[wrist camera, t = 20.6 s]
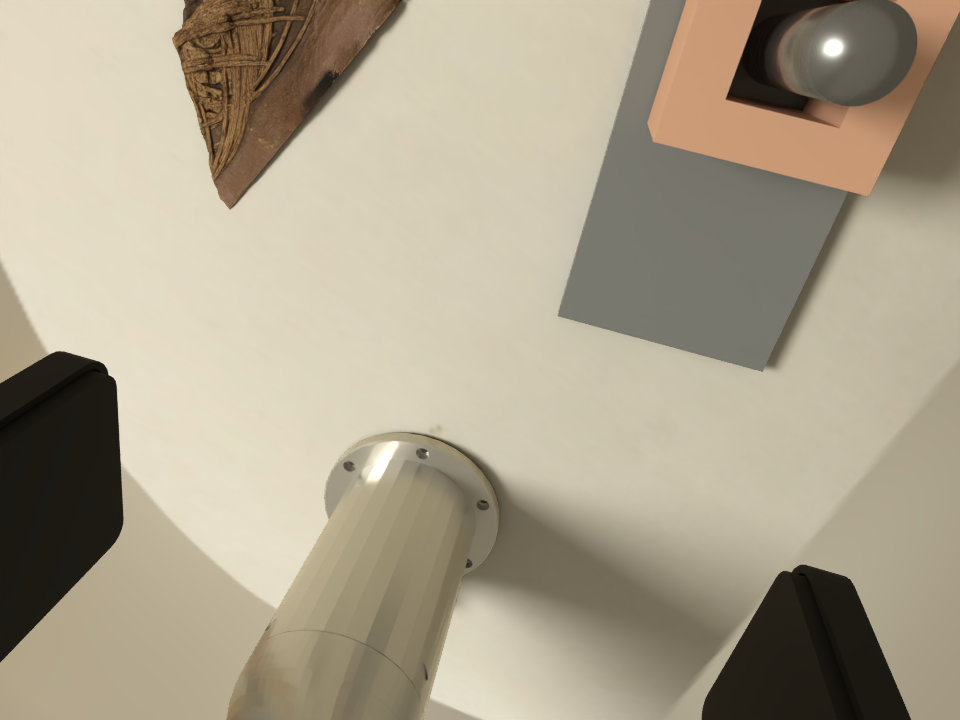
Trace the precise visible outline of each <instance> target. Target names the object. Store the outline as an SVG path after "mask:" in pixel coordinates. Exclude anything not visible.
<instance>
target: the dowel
mask: <svg viewBox="0 0 960 720" xmlns="http://www.w3.org/2000/svg"><path fill="white" fill-rule="evenodd" d="M916 51H917V31H916V27H915V24H914V22H913V20H912V18H911V17H910V15H909V14H908V12H907V11H906V10H905V9H904V8H902V7H901V6H900V5H898V4H896V3H894V2H892V1H889V0H858V1H853V2H847V3H841V4H836V5H830V6H825V7H819V8H813V9H808V10H802V11H796V12H791V13H785V14H780V15H775V16H771V17H769V18H767V19H765V20H763V21H761V22H760V23H759V24H758V25H756V26H755V27H754V28H753V30H752V31H751V32H750V34H749V36H748V39H747V42H746V45H745V47H744V50H743V54H742V59H743V65H744V68H745V70H746V72H747V74H748V75H749V76H750V77H751V78H752V79H753V80H754V81H756V82H758V83H760V84H763V85H766V86H770V87H774V88H778V89H781V90H785V91H789V92H793V93H796V94H800V95H804V96H808V97H811V98H815V99H819V100H823V101H827V102H830V103H834V104H838V105H842V106H861V105H866V104H869V103H872V102H875V101H877V100H879V99H881V98H883V97H884V96H886V95H887V94H889V93H890V92H891V91H893V90H894V89H895V88H896V87H897V86H898V85H899V84H900V83H901V82H902V80H903V79H904V78H905V76H906V75H907V73H908V72H909V70H910V68H911V66H912V64H913V61H914V59H915V55H916Z"/></svg>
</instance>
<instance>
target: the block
mask: <svg viewBox="0 0 960 720" xmlns="http://www.w3.org/2000/svg"><path fill="white" fill-rule="evenodd" d="M761 1H762V0H686V3H685V6H684V9H683V12H682V15H681V18H680V21H679V25H678V28H677V31H676V34H675V37H674V40H673V43H672V47H671V50H670V53H669V56H668V59H667V62H666V65H665V68H664V72H663V75H662V78H661V81H660V84H659V87H658V90H657V94H656V97H655V100H654V103H653V106H652V109H651V112H650V116H649V119H648V122H647V124H648V127H649V130H650V133H651V136H652V139H653V142H656V143H660V144H664V145H668V146H672V147H676V148H680V149H684V150H688V151H692V152H696V153H700V154H704V155H707V156H711V157H715V158H719V159H723V160H727V161H731V162H735V163H739V164H743V165H747V166H751V167H755V168H759V169H763V170H767V171H770V172H774V173H778V174H782V175H786V176H790V177H794V178H798V179H802V180H806V181H810V182H814V183H818V184H822V185H826V186H830V187H833V188H837V189H841V190H845V191H849V192H853V193H857V194H861V195H865V196H869V195H870V192H871V190H872V188H873V186H874V184H875V182H876V180H877V178H878V176H879V174H880V172H881V170H882V168H883V166H884V164H885V162H886V160H887V158H888V156H889V154H890V152H891V150H892V148H893V146H894V144H895V142H896V140H897V138H898V136H899V134H900V132H901V130H902V128H903V126H904V124H905V122H906V120H907V118H908V116H909V113H910V111H911V109H912V107H913V105H914V103H915V101H916V99H917V97H918V95H919V93H920V91H921V89H922V87H923V85H924V83H925V81H926V79H927V77H928V75H929V73H930V71H931V69H932V67H933V65H934V63H935V61H936V59H937V57H938V55H939V53H940V51H941V49H942V47H943V45H944V43H945V41H946V39H947V37H948V34H949V32H950V30H951V28H952V26H953V24H954V22H955V20H956V18H957V16H958V14H959V12H960V0H889V1H892V2H894V3H896V4H898V5H900V6H901V7H902V8H904V9H905V10H906V11H907V12H908V14H909V15H910V17H911V18H912V20H913V22H914V24H915V27H916V31H917V51H916V55H915V59H914V61H913V64H912V66H911V68H910V70H909V72H908V73H907V75H906V76H905V78H904V79H903V80H902V82H901V83H900V84H899V85H898V86H897V87H896V88H895V89H894V90H893V91H891V92H890V93H889V94H887V95H886V96H884V97H883V98H881V99H879V100H877V101H875V102H872V103H869V104H866V105H861V106H842V105H838V104H834V103H830V102H827V101H823V100H819V99H815V98H811V97H808V99H807V102H806V104H805V106H804V109H803V111H801V110H797V109H793V108H789V107H785V106H781V105H777V104H773V103H769V102H765V101H761V100H757V99H753V98H749V97H745V96H741V95H737V94H733V93H729V92H728V91H729V88H730V86H731V83H732V80H733V77H734V75H735V72H736V69H737V66H738V64H739V61H740V58H741V55H742V53H743V50H744V47H745V45H746V42H747V39H748V36H749V34H750V31H751V28H752V25H753V23H754V20H755V17H756V14H757V12H758V9H759V6H760V4H761ZM836 1H840V2H844V3H847V2H853V1H858V0H836Z"/></svg>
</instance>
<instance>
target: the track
mask: <svg viewBox="0 0 960 720" xmlns="http://www.w3.org/2000/svg"><path fill="white" fill-rule="evenodd" d="M685 3H686V0H651V1H650V4H649V8H648V11H647V15H646V18H645V21H644V25H643V28H642V31H641V35H640V38H639V42H638V45H637V48H636V52H635V55H634V58H633V62H632V65H631V69H630V72H629V75H628V79H627V82H626V85H625V89H624V92H623V96H622V99H621V102H620V106H619V109H618V112H617V116H616V119H615V123H614V126H613V129H612V133H611V136H610V139H609V143H608V146H607V150H606V153H605V156H604V160H603V163H602V166H601V170H600V173H599V177H598V180H597V183H596V187H595V190H594V193H593V197H592V200H591V204H590V207H589V210H588V214H587V217H586V220H585V224H584V227H583V231H582V234H581V237H580V241H579V244H578V247H577V251H576V254H575V258H574V261H573V264H572V268H571V271H570V274H569V278H568V281H567V285H566V288H565V291H564V295H563V298H562V301H561V305H560V308H559V313H558V316H559V317H563V318H567V319H571V320H574V321H578V322H582V323H585V324H589V325H593V326H596V327H600V328H604V329H607V330H611V331H615V332H618V333H622V334H626V335H629V336H633V337H637V338H640V339H644V340H648V341H651V342H655V343H659V344H662V345H666V346H670V347H674V348H677V349H681V350H685V351H688V352H692V353H696V354H699V355H703V356H707V357H710V358H714V359H718V360H721V361H725V362H729V363H732V364H736V365H740V366H743V367H747V368H751V369H754V370H758V371H762V372H763V370H764V368H765V365H766V363H767V361H768V359H769V357H770V355H771V353H772V351H773V349H774V347H775V345H776V342H777V340H778V338H779V336H780V334H781V332H782V330H783V328H784V326H785V324H786V322H787V319H788V317H789V315H790V313H791V311H792V309H793V307H794V305H795V303H796V301H797V299H798V296H799V294H800V292H801V290H802V288H803V286H804V284H805V282H806V280H807V278H808V275H809V273H810V271H811V269H812V267H813V265H814V263H815V261H816V259H817V257H818V255H819V252H820V250H821V248H822V246H823V244H824V242H825V240H826V238H827V236H828V234H829V232H830V229H831V227H832V225H833V223H834V221H835V219H836V217H837V215H838V213H839V211H840V208H841V206H842V204H843V202H844V200H845V198H846V196H847V194H848V192H849V191H845V190H841V189H837V188H833V187H830V186H826V185H822V184H818V183H814V182H810V181H806V180H802V179H798V178H794V177H790V176H786V175H782V174H778V173H774V172H770V171H767V170H763V169H759V168H755V167H751V166H747V165H743V164H739V163H735V162H731V161H727V160H723V159H719V158H715V157H711V156H707V155H704V154H700V153H696V152H692V151H688V150H684V149H680V148H676V147H672V146H668V145H664V144H660V143H656V142H653V139H652V136H651V133H650V130H649V127H648V124H647V122H648V119H649V116H650V112H651V109H652V106H653V103H654V100H655V97H656V94H657V90H658V87H659V84H660V81H661V78H662V75H663V72H664V68H665V65H666V62H667V59H668V56H669V53H670V50H671V47H672V43H673V40H674V37H675V34H676V31H677V28H678V25H679V21H680V18H681V15H682V12H683V9H684V6H685ZM841 3H844V2H840V1H836V0H762V1H761V4H760V6H759V9H758V12H757V14H756V17H755V20H754V23H753V25H752V28H751V31H752V30H753V28H754V27H755V26H756V25H758V24H759V23H760V22H761V21H763V20H765V19H767V18H769V17H771V16H775V15H780V14H785V13H791V12H796V11H802V10H808V9H813V8H819V7H825V6H830V5H836V4H841ZM751 31H750V32H751ZM742 54H743V53H742ZM728 92H729V93H733V94H737V95H741V96H745V97H749V98H753V99H757V100H761V101H765V102H769V103H773V104H777V105H781V106H785V107H789V108H793V109H797V110H801V111H803V109H804V106H805V104H806V102H807V99H808V96H804V95H800V94H796V93H793V92H789V91H785V90H781V89H778V88H774V87H770V86H766V85H763V84H760V83H758V82H756V81H754V80H753V79H752V78H751V77H750V76H749V75H748V74H747V72H746V70H745V68H744V65H743V59H742V55H741V58H740V61H739V64H738V66H737V69H736V72H735V75H734V77H733V80H732V83H731V86H730V88H729V91H728Z"/></svg>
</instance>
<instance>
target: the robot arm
mask: <svg viewBox="0 0 960 720" xmlns="http://www.w3.org/2000/svg"><path fill="white" fill-rule="evenodd" d="M324 499H325V509H326V513H327V516H328V519H329V520H328V522H327V524H326V526H325V527H324V529H323V531H322V533H321V534H320V536H319V538H318V540H317V541H316V543H315V545H314V547H313V548H312V550H311V552H310V553H309V555H308V557H307V559H306V560H305V562H304V564H303V566H302V567H301V569H300V571H299V573H298V574H297V576H296V578H295V580H294V581H293V583H292V585H291V586H290V588H289V590H288V592H287V593H286V595H285V597H284V599H283V600H282V602H281V604H280V606H279V607H278V609H277V611H276V613H275V614H274V616H273V618H272V620H271V622H270V623H269V625H268V626H267V628H266V630H265V632H264V633H263V635H262V637H261V639H260V640H259V642H258V644H257V646H256V647H255V649H254V651H253V653H252V655H251V656H250V658H249V660H248V661H247V663H246V665H245V667H244V668H243V670H242V672H241V674H240V676H239V678H238V680H237V682H236V684H235V688H234V691H233V693H232V696H231V699H230V703H229V708H228V715H227V720H423V719H424V716H425V712H426V709H427V705H428V701H429V698H430V694H431V691H432V687H433V683H434V680H435V676H436V672H437V669H438V665H439V661H440V658H441V654H442V651H443V647H444V643H445V640H446V636H447V632H448V629H449V625H450V621H451V618H452V614H453V610H454V607H455V603H456V600H457V596H458V592H459V589H460V585H461V581H462V578H463V575H465V574H467V573H469V572H471V571H473V570H474V569H475V568H476V567H478V566H479V565H480V564H481V563H483V561H484V560H485V559H486V557H487V556H488V555H489V554H490V552H491V550H492V548H493V546H494V543H495V541H496V537H497V533H498V529H499V517H500V512H499V507H498V501H497V498H496V495H495V493H494V491H493V488H492V486H491V484H490V483H489V481H488V480H487V478H486V477H485V475H484V474H483V472H482V471H481V470H480V469H479V468H478V467H477V466H476V465H475V464H474V463H473V462H472V461H471V460H470V459H469V458H467V457H466V456H465V455H463V454H462V453H461V452H459V451H458V450H456V449H455V448H453V447H451V446H449V445H447V444H445V443H443V442H441V441H438V440H435V439H432V438H429V437H426V436H422V435H416V434H410V433H387V434H382V435H376V436H372V437H370V438H367V439H365V440H362V441H360V442H358V443H357V444H355V445H354V446H352V447H351V448H349V449H348V450H347V451H346V452H345V453H344V454H343V455H342V456H341V457H340V458H339V459H338V461H337V463H336V464H335V466H334V467H333V469H332V470H331V472H330V475H329V477H328V480H327V482H326V487H325V495H324ZM122 526H123V501H122V482H121V462H120V442H119V423H118V403H117V386H116V381H115V380H114V378H113V377H111V376H109V375H108V370H107V368H106V367H105V365H104V364H102V363H101V362H98V361H95V360H91V359H88V358H84V357H81V356H78V355H74V354H71V353H67V352H61V351H57V352H55V353H52V354H50V355H48V356H46V357H45V358H43V359H41V360H39V361H38V362H36V363H34V364H33V365H31V366H29V367H27V368H26V369H24V370H23V371H21V372H19V373H17V374H16V375H14V376H12V377H10V378H9V379H7V380H5V381H4V382H2V383H0V662H1V661H2V660H3V659H4V658H5V657H6V656H7V655H8V654H9V653H10V652H11V651H12V650H13V649H14V648H15V647H16V646H17V644H18V643H19V642H20V641H21V640H22V639H23V638H24V637H25V636H26V635H27V634H28V633H29V632H30V631H31V630H32V629H33V628H34V627H35V626H36V625H37V624H38V623H39V622H40V620H42V619H43V617H44V616H45V615H46V614H47V613H48V612H49V611H50V610H51V609H52V608H53V607H54V606H55V605H56V604H57V603H58V602H59V601H60V600H61V599H62V598H63V597H64V595H65V594H67V593H68V591H69V590H70V589H71V588H72V587H73V586H74V585H75V584H76V583H77V582H78V581H79V580H80V579H81V578H82V577H83V576H84V575H85V574H86V573H87V572H88V571H89V570H90V569H91V568H92V567H93V565H94V564H95V563H96V562H97V561H98V560H99V559H100V558H101V557H102V556H103V555H104V554H105V553H106V552H107V551H108V550H109V549H110V548H111V546H112V545H113V544H114V543H115V542H116V540H117V538H118V537H119V534H120V532H121V530H122ZM702 720H911V718H910V716H909V713H908V711H907V709H906V707H905V704H904V702H903V699H902V697H901V695H900V692H899V690H898V688H897V685H896V683H895V680H894V678H893V676H892V673H891V671H890V669H889V666H888V664H887V662H886V659H885V657H884V655H883V652H882V650H881V648H880V645H879V643H878V641H877V638H876V636H875V633H874V631H873V629H872V626H871V624H870V622H869V619H868V617H867V615H866V612H865V610H864V608H863V605H862V603H861V601H860V598H859V596H858V594H857V591H856V589H855V586H854V585H853V583H852V582H851V580H850V579H848V578H847V577H845V576H842V575H839V574H835V573H832V572H828V571H825V570H821V569H818V568H814V567H811V566H807V565H799V566H797V567H796V568H795V569H794V570H793V571H792V573H791V572H788V571H783V572H781V573H780V574H779V575H778V576H777V577H776V579H775V581H774V582H773V584H772V586H771V588H770V589H769V591H768V593H767V594H766V596H765V598H764V599H763V601H762V603H761V605H760V606H759V608H758V610H757V611H756V613H755V615H754V616H753V618H752V620H751V622H750V623H749V625H748V627H747V628H746V630H745V632H744V633H743V635H742V637H741V639H740V640H739V642H738V644H737V645H736V647H735V649H734V650H733V652H732V654H731V656H730V657H729V659H728V661H727V662H726V664H725V666H724V668H723V669H722V671H721V673H720V674H719V676H718V678H717V680H716V682H715V683H714V684H713V686H712V688H711V690H710V691H709V693H708V695H707V697H706V699H705V702H704V705H703V711H702Z"/></svg>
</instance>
